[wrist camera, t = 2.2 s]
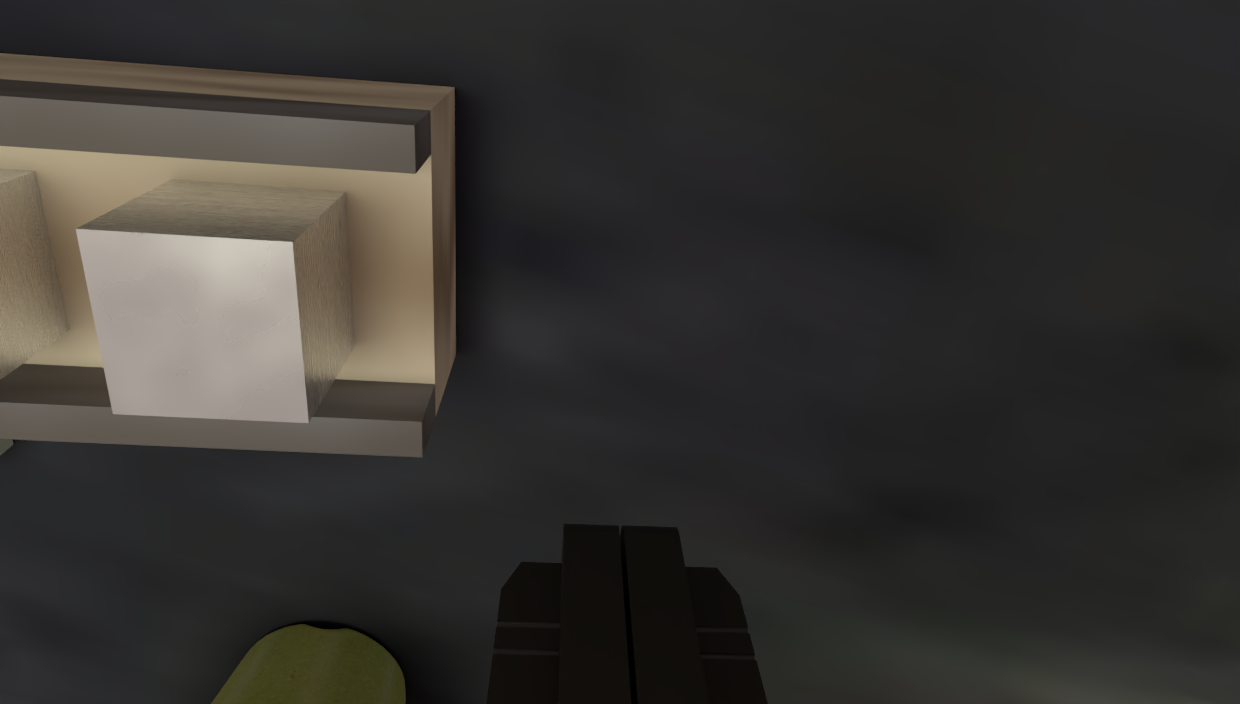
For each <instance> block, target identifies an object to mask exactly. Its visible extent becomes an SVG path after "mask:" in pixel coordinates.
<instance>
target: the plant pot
mask: <svg viewBox="0 0 1240 704" xmlns="http://www.w3.org/2000/svg"><path fill="white" fill-rule="evenodd" d="M405 703H406V691H405V681H404V676H403V673H402V671H401V669H400V667H399V665H398V663H397V662H396V660H395V659H394V658H393V657H392V656H391V655H390V653H389V652H388V651H387V650H386V649H385V648H384V647H382V646H381V645H380V644H378V643H377V642H375V641H374V640H372V639H371V638H369V637H367V636H365V635H363V634H361V633H359V632H357V631H354V630H351V629H348V628H342V629H320V628H316V627H312V626H309V625H306V624H298V625H293V626H288V627H285V628H282V629H279V630H276V631H274V632H272V633H270V634H268V635H266V636H265V637H263V638H262V639H261V640H259V641H258V642H257V643H256V644H255V645H254V646H253V647H252V648H251V649H250V650H249V651H248V653H247V654H246V655H245V657H244V658H243V659H242V661H241V662H240V663H239V665H238V666H237V668H236V669H235V670H234V672H233V673H232V675H231V676H230V678H229V679H228V681H227V682H226V683H225V685H224V686H223V688H222V689H221V690H220V692H219V693H218V695H217V696H216V697H215V699H214V700H213V701H212V703H211V704H405Z"/></svg>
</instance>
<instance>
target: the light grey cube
mask: <svg viewBox="0 0 1240 704" xmlns="http://www.w3.org/2000/svg"><path fill="white" fill-rule="evenodd" d="M76 233H77V238H78V243H79V248H80V253H81V258H82V263H83V268H84V273H85V278H86V283H87V288H88V293H89V298H90V303H91V308H92V313H93V318H94V323H95V328H96V333H97V338H98V343H99V348H100V353H101V358H102V363H103V368H104V372H105V377H106V382H107V387H108V392H109V397H110V402H111V407H112V412H113V414H120V415H142V416H164V417H185V418H207V419H229V420H250V421H272V422H294V423H309V422H310V420H311V419H312V417H313V415H314V414H315V412H316V410H317V409H318V407H319V405H320V404H321V402H322V400H323V399H324V397H325V395H326V394H327V392H328V390H329V389H330V387H331V385H332V384H333V382H334V380H335V378H336V377H337V375H338V373H339V372H340V370H341V368H342V367H343V365H344V363H345V362H346V360H347V358H348V357H349V355H350V353H351V352H352V350H353V348H354V347H355V332H354V316H353V299H352V282H351V266H350V249H349V232H348V216H347V199H346V191H336V190H321V189H306V188H291V187H275V186H260V185H245V184H230V183H214V182H199V181H184V180H169V181H167V182H165V183H163V184H161V185H159V186H157V187H155V188H153V189H151V190H150V191H148V192H146V193H144V194H142V195H140V196H138V197H136V198H134V199H132V200H130V201H128V202H126V203H124V204H123V205H121V206H119V207H117V208H115V209H113V210H111V211H109V212H107V213H105V214H103V215H101V216H99V217H97V218H95V219H94V220H92V221H90V222H88V223H86V224H84V225H82V226H80V227H78V228H76Z"/></svg>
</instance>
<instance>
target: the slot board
mask: <svg viewBox="0 0 1240 704" xmlns="http://www.w3.org/2000/svg"><path fill="white" fill-rule="evenodd" d="M0 168H1V169H16V170H32V171H36V175H37V180H38V184H39V189H40V194H41V198H42V203H43V208H44V212H45V217H46V222H47V226H48V231H49V235H50V240H51V245H52V249H53V254H54V259H55V263H56V268H57V273H58V277H59V282H60V286H61V291H62V296H63V300H64V305H65V310H66V314H67V319H68V324H69V328H70V331H68V332H67V333H65V334H64V335H63V336H61V337H60V338H58V339H57V340H56V341H54V342H53V343H51V344H50V345H49V346H47V347H46V348H44V349H43V350H42V351H40V352H39V353H37V354H36V355H34V356H33V357H32V358H30V359H29V360H27V361H26V362H25V363H23V364H22V365H20V366H19V367H18V368H16V369H15V370H13V371H12V372H11V373H9V374H8V375H6V376H5V377H4V378H2V379H1V380H0V439H14V440H37V441H60V442H83V443H106V444H129V445H151V446H174V447H197V448H220V449H243V450H266V451H289V452H312V453H335V454H358V455H381V456H403V457H423V454H424V451H425V448H426V445H427V442H428V439H429V436H430V433H431V430H432V427H433V424H434V420H435V417H436V414H437V411H438V408H439V405H440V402H441V399H442V396H443V393H444V390H445V387H446V383H447V380H448V377H449V374H450V371H451V368H452V365H453V362H454V359H455V356H456V248H455V87H446V86H432V85H419V84H406V83H392V82H379V81H366V80H352V79H339V78H326V77H312V76H299V75H286V74H272V73H259V72H246V71H232V70H219V69H205V68H192V67H179V66H165V65H152V64H139V63H125V62H112V61H99V60H85V59H72V58H59V57H45V56H32V55H19V54H5V53H0ZM169 180H184V181H199V182H214V183H230V184H245V185H260V186H275V187H291V188H306V189H321V190H336V191H346V199H347V216H348V232H349V249H350V266H351V282H352V299H353V316H354V332H355V347H354V348H353V350H352V352H351V353H350V355H349V357H348V358H347V360H346V362H345V363H344V365H343V367H342V368H341V370H340V372H339V373H338V375H337V377H336V378H335V380H334V382H333V384H332V385H331V387H330V389H329V390H328V392H327V394H326V395H325V397H324V399H323V400H322V402H321V404H320V405H319V407H318V409H317V410H316V412H315V414H314V415H313V417H312V419H311V420H310V422H309V423H294V422H272V421H250V420H229V419H207V418H185V417H164V416H142V415H120V414H113V412H112V407H111V402H110V397H109V392H108V387H107V382H106V377H105V372H104V368H103V363H102V358H101V353H100V348H99V343H98V338H97V333H96V328H95V323H94V318H93V313H92V308H91V303H90V298H89V293H88V288H87V283H86V278H85V273H84V268H83V263H82V258H81V253H80V248H79V243H78V238H77V233H76V228H78V227H80V226H82V225H84V224H86V223H88V222H90V221H92V220H94V219H95V218H97V217H99V216H101V215H103V214H105V213H107V212H109V211H111V210H113V209H115V208H117V207H119V206H121V205H123V204H124V203H126V202H128V201H130V200H132V199H134V198H136V197H138V196H140V195H142V194H144V193H146V192H148V191H150V190H151V189H153V188H155V187H157V186H159V185H161V184H163V183H165V182H167V181H169Z"/></svg>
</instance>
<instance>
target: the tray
mask: <svg viewBox="0 0 1240 704" xmlns="http://www.w3.org/2000/svg"><path fill="white" fill-rule="evenodd" d="M12 445H13V440H12V439H0V455H2V454H3V453H4V452H5V451H6V450H7V449H9V448H10V447H11V446H12Z"/></svg>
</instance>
